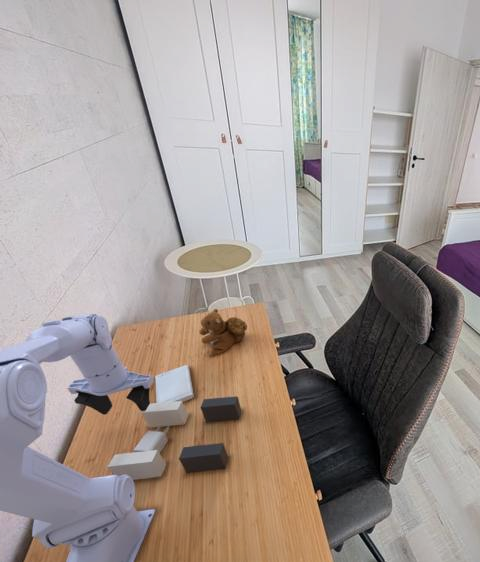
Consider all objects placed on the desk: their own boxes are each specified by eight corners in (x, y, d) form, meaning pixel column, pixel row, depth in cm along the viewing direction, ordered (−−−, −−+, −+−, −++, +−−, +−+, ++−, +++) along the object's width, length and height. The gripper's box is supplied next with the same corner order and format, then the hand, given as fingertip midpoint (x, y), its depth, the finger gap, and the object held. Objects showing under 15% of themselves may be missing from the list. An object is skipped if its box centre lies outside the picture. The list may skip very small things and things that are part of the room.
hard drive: (154, 375, 81) (156, 407, 72) (187, 364, 85) (192, 393, 77) (156, 379, 82) (158, 412, 73) (189, 368, 86) (194, 397, 77)
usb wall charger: (138, 459, 63) (131, 449, 61) (159, 430, 69) (154, 420, 67) (156, 460, 63) (150, 451, 61) (175, 431, 69) (170, 421, 67)
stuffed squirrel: (203, 339, 97) (193, 308, 90) (247, 328, 103) (241, 298, 97) (204, 358, 90) (193, 326, 83) (251, 345, 96) (245, 315, 89)
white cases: (161, 476, 61) (151, 461, 58) (119, 481, 59) (107, 466, 56) (188, 415, 73) (182, 400, 70) (154, 418, 72) (146, 403, 69)
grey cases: (225, 468, 63) (219, 454, 60) (186, 473, 61) (178, 458, 58) (241, 410, 75) (237, 396, 72) (209, 413, 74) (203, 398, 71)
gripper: (151, 349, 61) (170, 391, 68) (74, 354, 59) (102, 396, 66) (133, 375, 55) (155, 418, 62) (46, 381, 53) (80, 424, 60)
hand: (127, 408), depth 64 cm, fingers open, 7 cm apart
